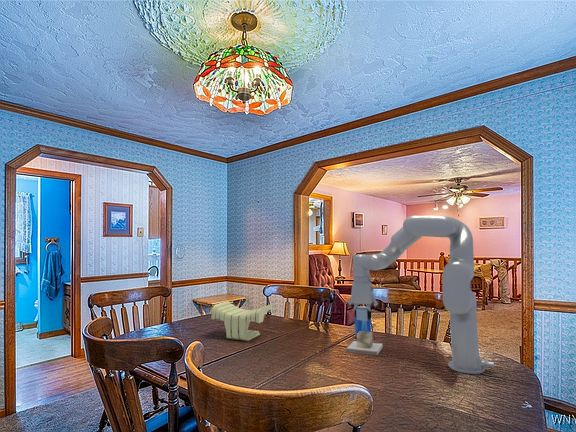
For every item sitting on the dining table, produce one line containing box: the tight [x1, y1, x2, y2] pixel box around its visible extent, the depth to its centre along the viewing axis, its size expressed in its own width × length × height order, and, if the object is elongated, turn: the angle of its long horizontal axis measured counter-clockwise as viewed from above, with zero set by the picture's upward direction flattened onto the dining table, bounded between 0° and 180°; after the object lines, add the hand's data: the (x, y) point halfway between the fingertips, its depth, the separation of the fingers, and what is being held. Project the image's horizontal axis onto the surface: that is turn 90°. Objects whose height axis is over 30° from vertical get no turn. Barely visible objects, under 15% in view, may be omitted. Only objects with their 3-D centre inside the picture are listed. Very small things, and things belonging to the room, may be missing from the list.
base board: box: [345, 340, 384, 357], centre depth 156 cm, size 14×14×2 cm
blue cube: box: [356, 306, 368, 321], centre depth 157 cm, size 5×5×5 cm
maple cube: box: [356, 331, 374, 349], centre depth 156 cm, size 6×6×6 cm
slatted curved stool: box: [211, 300, 274, 342], centre depth 183 cm, size 30×16×18 cm, turn 66°
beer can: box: [353, 305, 372, 339], centre depth 175 cm, size 8×8×16 cm
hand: (363, 318), depth 157 cm, fingers closed on blue cube, 5 cm apart
